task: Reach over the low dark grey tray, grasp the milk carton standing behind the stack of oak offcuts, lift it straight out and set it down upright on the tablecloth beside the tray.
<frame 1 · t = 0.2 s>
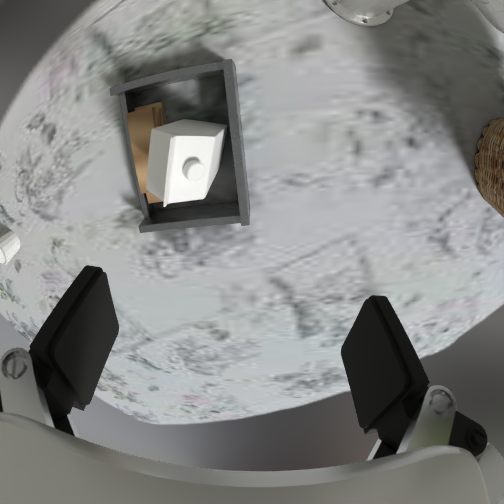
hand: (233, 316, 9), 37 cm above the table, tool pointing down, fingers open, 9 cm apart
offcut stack: (157, 149, 41), resting in dark grey tray
white cylinder: (14, 240, 49), on the table
dark grey tray: (187, 144, 40), on the table
wicker basket: (499, 161, 38), on the table
milk carton: (202, 142, 40), resting in dark grey tray
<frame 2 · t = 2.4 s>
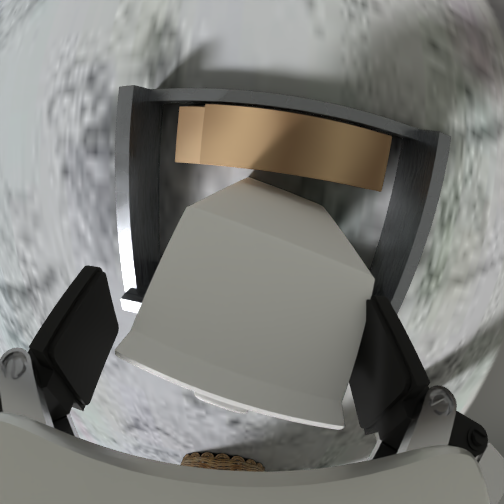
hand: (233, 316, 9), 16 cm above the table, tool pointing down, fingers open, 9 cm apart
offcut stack: (282, 141, 22), resting in dark grey tray
dark grey tray: (275, 200, 24), on the table
wicker basket: (223, 464, 53), on the table
milk carton: (272, 226, 25), resting in dark grey tray, touching gripper
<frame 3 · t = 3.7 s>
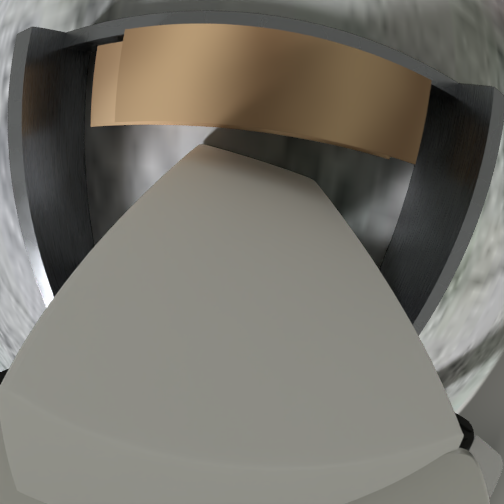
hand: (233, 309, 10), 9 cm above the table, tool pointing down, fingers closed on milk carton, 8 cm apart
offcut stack: (256, 87, 13), resting in dark grey tray
dark grey tray: (246, 177, 16), on the table
milk carton: (240, 211, 17), resting in dark grey tray, touching gripper
when the fingers open (10 cm above the table, at t = 14.5 s): milk carton drops 1 cm, on the table.
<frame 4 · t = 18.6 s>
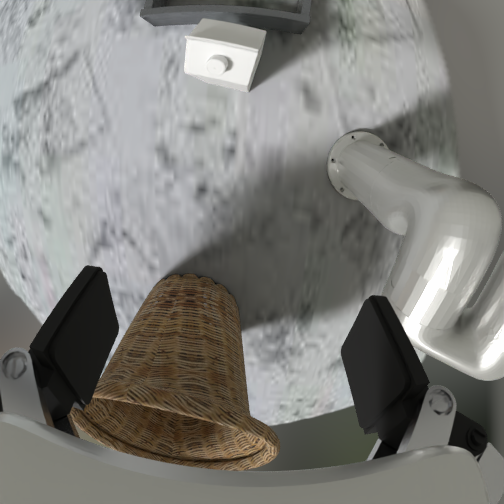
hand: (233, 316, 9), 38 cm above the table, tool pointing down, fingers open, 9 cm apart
wicker basket: (193, 309, 61), on the table
milk carton: (233, 68, 36), on the table
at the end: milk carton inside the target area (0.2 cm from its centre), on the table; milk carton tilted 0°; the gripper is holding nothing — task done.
